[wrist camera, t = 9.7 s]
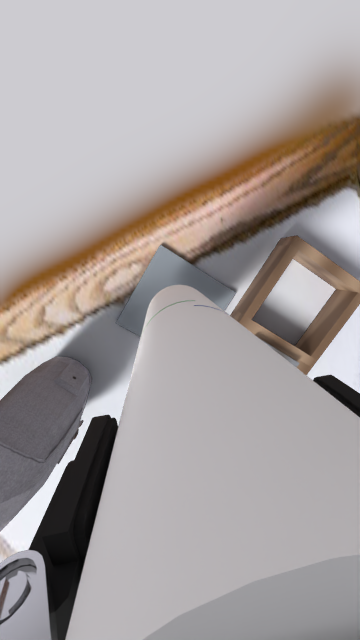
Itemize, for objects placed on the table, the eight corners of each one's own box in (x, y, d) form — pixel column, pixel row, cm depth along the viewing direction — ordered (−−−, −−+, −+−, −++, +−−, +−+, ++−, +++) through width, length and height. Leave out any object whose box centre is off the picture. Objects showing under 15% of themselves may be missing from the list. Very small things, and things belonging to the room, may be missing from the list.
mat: (234, 292, 34) (236, 292, 34) (189, 362, 36) (190, 363, 35) (160, 244, 32) (160, 244, 31) (116, 322, 34) (115, 323, 33)
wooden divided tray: (347, 286, 35) (418, 295, 26) (252, 416, 39) (282, 468, 29) (280, 238, 33) (331, 228, 23) (186, 382, 37) (195, 425, 27)
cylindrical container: (202, 352, 28) (444, 874, 4) (141, 341, 28) (7, 923, 3) (217, 292, 27) (729, 571, 3) (153, 278, 26) (74, 511, 2)
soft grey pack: (67, 335, 34) (-59, 436, 14) (118, 368, 35) (67, 498, 16) (10, 415, 36) (-166, 597, 16) (61, 442, 38) (-44, 637, 18)
